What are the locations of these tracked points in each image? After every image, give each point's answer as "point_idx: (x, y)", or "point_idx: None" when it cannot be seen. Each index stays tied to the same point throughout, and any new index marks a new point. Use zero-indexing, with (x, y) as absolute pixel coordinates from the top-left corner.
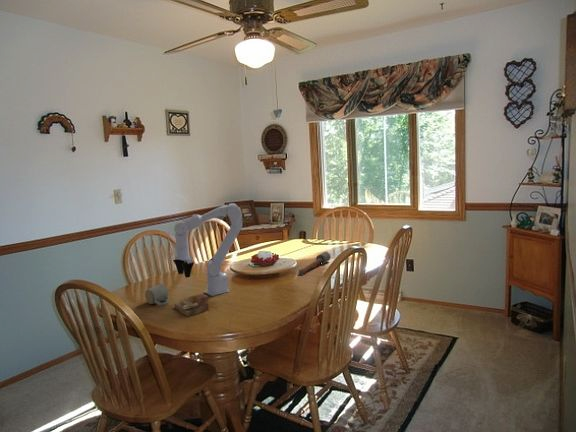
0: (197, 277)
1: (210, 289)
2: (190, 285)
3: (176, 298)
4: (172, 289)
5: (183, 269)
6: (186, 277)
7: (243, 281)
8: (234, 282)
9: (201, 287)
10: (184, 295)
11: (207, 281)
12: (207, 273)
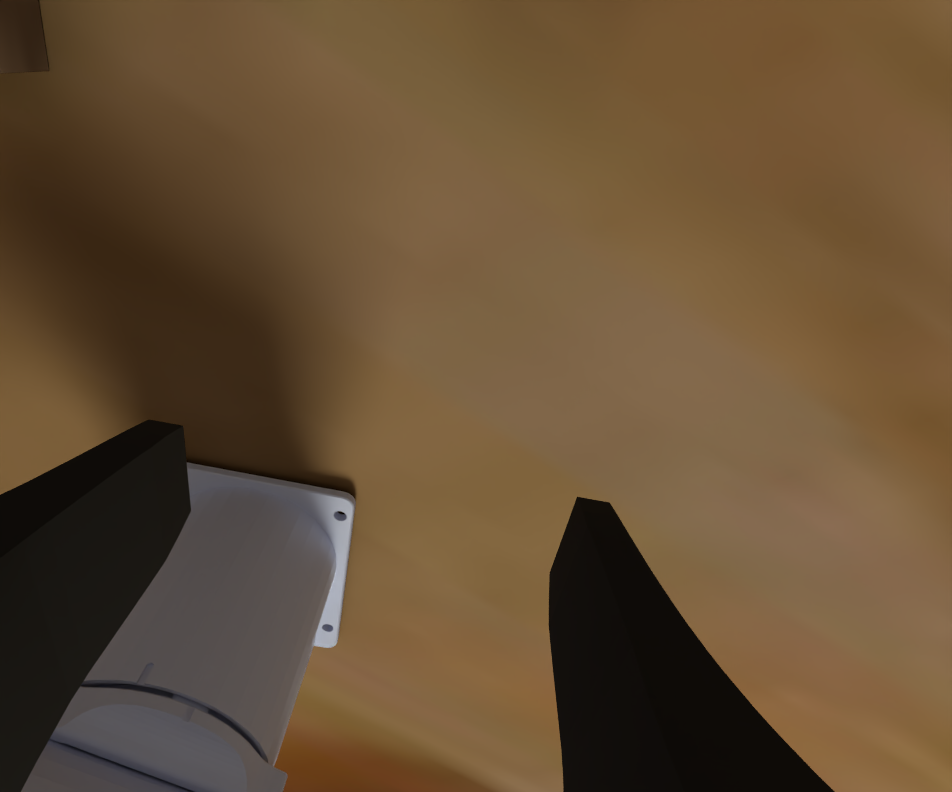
0: (865, 720)
1: (188, 523)
2: (732, 558)
3: (451, 142)
4: (860, 363)
5: (556, 673)
6: (139, 428)
7: (352, 786)
8: (392, 753)
9: (546, 570)
10: (469, 299)
11: (192, 606)
12: (207, 744)
